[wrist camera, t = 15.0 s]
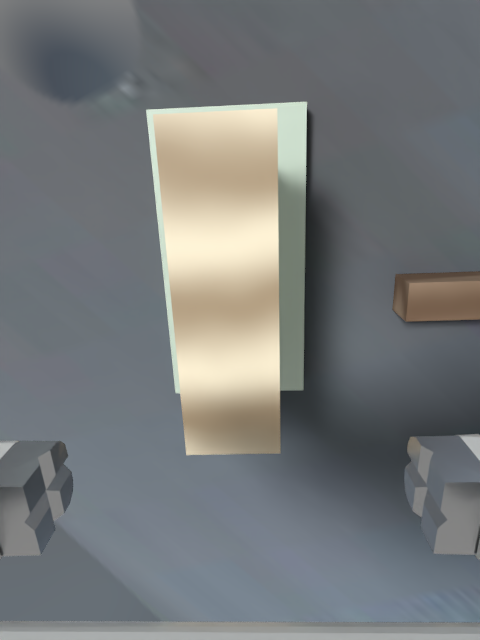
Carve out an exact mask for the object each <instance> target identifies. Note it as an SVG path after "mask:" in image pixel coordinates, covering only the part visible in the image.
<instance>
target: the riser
mask: <svg viewBox="0 0 480 640" xmlns="http://www.w3.org/2000/svg"><path fill="white" fill-rule="evenodd" d="M393 311H395V312H396V313H397V314H398V315H399V316H400V317H401V318H402V319H404V320H405V321H406V322H407V321H442V320H476V319H480V271H479V272H449V273H419V274H396V276H395V288H394V300H393Z"/></svg>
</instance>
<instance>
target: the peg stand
mask: <svg viewBox="0 0 480 640" xmlns="http://www.w3.org/2000/svg"><path fill="white" fill-rule="evenodd" d="M274 108H277V120H278V233H279V346H280V391H291V390H303V382H304V299H305V215H306V132H307V102H293V103H273V104H253V105H233V106H212V107H192V108H172V109H152V110H146V112H147V121H148V131H149V141H150V150H151V160H152V170H153V179H154V189H155V198H156V208H157V218H158V227H159V237H160V247H161V256H162V266H163V276H164V285H165V295H166V305H167V314H168V324H169V333H170V343H171V353H172V362H173V372H174V382H175V391H176V393H180V384H179V374H178V364H177V353H176V343H175V333H174V323H173V313H172V303H171V293H170V283H169V273H168V263H167V252H166V242H165V232H164V222H163V212H162V202H161V192H160V182H159V172H158V162H157V151H156V141H155V131H154V121H153V114H172V113H193V112H213V111H234V110H254V109H274Z"/></svg>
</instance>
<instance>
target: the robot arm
mask: <svg viewBox="0 0 480 640" xmlns="http://www.w3.org/2000/svg"><path fill="white" fill-rule="evenodd" d="M407 453H408V455H409V456H410V458H411V460H412V461H411V462H410V463H409V464H408V465H407V466H406V467H405V473H404V485H405V493H406V496H407V499H408V502H409V505H410V507H411V509H412V511H413V512H415V513H416V514H417V515H419V516H420V517H422V520H421V529H422V531H423V533H424V535H425V537H426V539H427V541H428V543H429V545H430V547H431V549H432V551H433V554H462V555H476V558H478V559H479V560H480V435H479V434H465V435H455V436H416V437H410V439H409V442H408V447H407ZM67 457H68V454H67V450H66V446H65V444H64V443H63V442H61V441H0V560H1V558H2V557H1V556H28V555H41V554H42V552H43V550H44V549H45V547H46V545H47V543H48V542H49V540H50V538H51V536H52V535H53V533H54V531H55V525H54V521H55V520H56V519H57V518H59V517H60V516H61V515H63V514H64V513H65V511H66V509H67V508H68V506H69V504H70V501H71V497H72V493H73V477H72V472H71V471H70V470H69V469H68V468H67V467H66V466H65V465H64V462H65V460H66V459H67ZM0 640H480V623H445V622H137V621H136V622H135V621H134V622H132V621H127V622H125V621H124V622H123V621H111V622H110V621H106V622H105V621H101V622H100V621H0Z"/></svg>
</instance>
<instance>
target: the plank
mask: <svg viewBox="0 0 480 640" xmlns="http://www.w3.org/2000/svg"><path fill="white" fill-rule="evenodd" d="M153 121H154V131H155V141H156V151H157V162H158V172H159V182H160V192H161V202H162V212H163V222H164V232H165V242H166V252H167V263H168V273H169V283H170V293H171V303H172V313H173V323H174V333H175V343H176V353H177V364H178V374H179V384H180V394H181V404H182V414H183V424H184V434H185V444H186V454H187V455H214V454H272V453H280V346H279V233H278V120H277V108H274V109H254V110H234V111H213V112H193V113H172V114H153Z"/></svg>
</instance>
